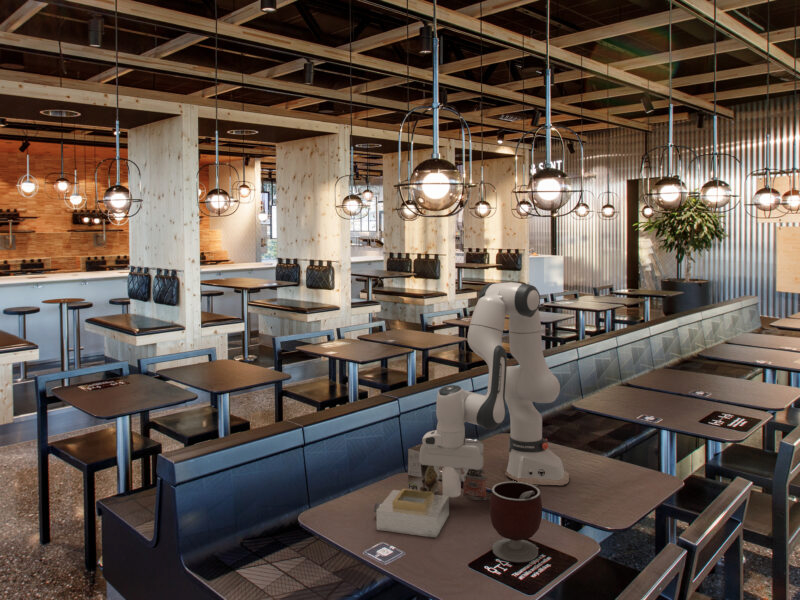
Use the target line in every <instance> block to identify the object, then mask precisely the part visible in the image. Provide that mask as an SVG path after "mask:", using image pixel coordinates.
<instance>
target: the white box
mask: <svg viewBox="0 0 800 600" xmlns="http://www.w3.org/2000/svg"><path fill="white" fill-rule="evenodd" d="M374 513H375V514H376V530H377V531H384V532H390V533H398V534H406V535H412V536H420V537H427V538H434V539H437V537H439V536H438V535H439V534H440V532H441V531H442V528H443V526H444V524H445V523H446V521H447V519H448V517H449V515H450V497H449V496H444V495H443V494H435V493H434V492H429V491H420V490H411V489H408V488H402V489H401V490H398V489H392V490H391V492H390V493H389V494H388V495H387V497H386V498H385V499H384V500H383V502H376V503H375V504H374Z"/></svg>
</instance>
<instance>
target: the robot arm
mask: <svg viewBox="0 0 800 600" xmlns="http://www.w3.org/2000/svg"><path fill="white" fill-rule="evenodd" d="M540 303H541V295H540V292H539V290H538V288H537V287H536V286H534V285H532V284H530V283H529V284H528V283H520V282H514V281H513V282H511V281H509V282H490V283H486V284H484V286H482V288H481V290H480V292H479V295H478V300H477V303H476V304H475V307H474V309H473V312H472V316H471V319H470V323H469V327H468V330H467V331H468V332H467V338H466V339H467V343H468V346H469V348H470V349H471V351H473V352H474V354H475V355H477V356H478V357H480V358H481V359H482V360H484V362H485V363H486V365H487V368H488V378H487V392H486V394H481V393H476V392H472V391H468V390H465V389H464V388H462V387H461V386H460V385H456V384H450V385H445V386H443V387H441V388H439V390H438V392H437V397H436V404H435V405H436V407H435V410H436V413H435V415H436V418H437V424H436V429H435V430H434V429H433V430H431V431H427V432H426V433H425V434H424V435H423V437H422V439H421V443H423V444H422V446H421V448H420V455H419V461H420V463H421V464H422V465H430V466H434V470H435V471H436V473H437V474H438V480H442V471H441V470H440V468H441V467H442V468H443V467H453V468H460V469H462V471H463V473H464V474H463V473H461V475H460V481H461V483H462V482H463V483H464V482H465V475H466V474H467V472H468V470H469V469H475V470H480V469H483V466H484V455H483V454H484V450H485V447H484V443H483V442H482V441H480V440H479V439H477V438H475V439H473V438H465V437H466V436H465V435H466V433H465V432H466V431H465V430H466V427H465V423H469V424H473V425H477V426H479V427H482V428H484V429H486V430H487V429H488V430H495V429H497V427H499V426H501V424H502V423H503V422H504V420H505V418H506V413H507V412H506V406H507V408H508V413H509V419H510V422H509V423H510V424H509V425H510V434H509V438H508V452H509V457H508V464H507V468H506V471H507V472H508V473H509V474H511V475H512V476H515V477H517V478H538V479H551V480H560V479H562V478H563V477H564V470H565V469H564V465H563V461H562V459H561V458H560V457H559V456H558V455H557V454H555V453H554V452H553V451H551V450H550V449H549V443H548V439H547V438H544V437H543V417H542V414H541V413H540V412H539V410H537V409H536V407H535V405H534V403H538V404H549V403H553V402H554V401H556V400H557V398H558V397H559V395H560V391H561V383H560V382H559V379H558V377H556V375H555V374H554V373H552V371H551V369H550V368H549V366H548V364H547V362H546V359H545V357H544V351H543V342H542V326H541V316H540V310H539V307H540ZM506 316H509V317H508V337H509V342H508V343H509V352H510V355H511V356H512V357H513V359H515V360H516V361H517V363H518V364H519V366H517V365H510V366H509V365H508V355H507V351H506V349H505V348H504V346H503V345H504V344H503V332H504V328H505V321H506ZM507 365H508V366H507Z"/></svg>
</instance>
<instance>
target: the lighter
mask: <svg viewBox="0 0 800 600" xmlns="http://www.w3.org/2000/svg"><path fill="white" fill-rule="evenodd" d="M485 471H486V470H485V469H484V468H481V469H480V470H475V469H469V470H468V472H467V474H466V475H465V482H463V487H462V488H463V492H462V497H464V498H467V499H471V500H476V501H477V500H478V501H486V500H487V478H488V477H487V475H485ZM464 473H465V472H463V473H462V474H464ZM485 499H486V500H485Z"/></svg>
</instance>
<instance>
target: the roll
mask: <svg viewBox="0 0 800 600" xmlns="http://www.w3.org/2000/svg"><path fill="white" fill-rule="evenodd" d="M461 469H462V468H453V467H442V469H441V472H442V479H441V482H442V486H441V487H442V495H443V496H449V498H457V497H460V496H461V494H462V491H461V490H462V489H461V488H462V487H461V486H462V484H461V483H462V481H460V475H461V474H462V473H461V472H462V471H461Z"/></svg>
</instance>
